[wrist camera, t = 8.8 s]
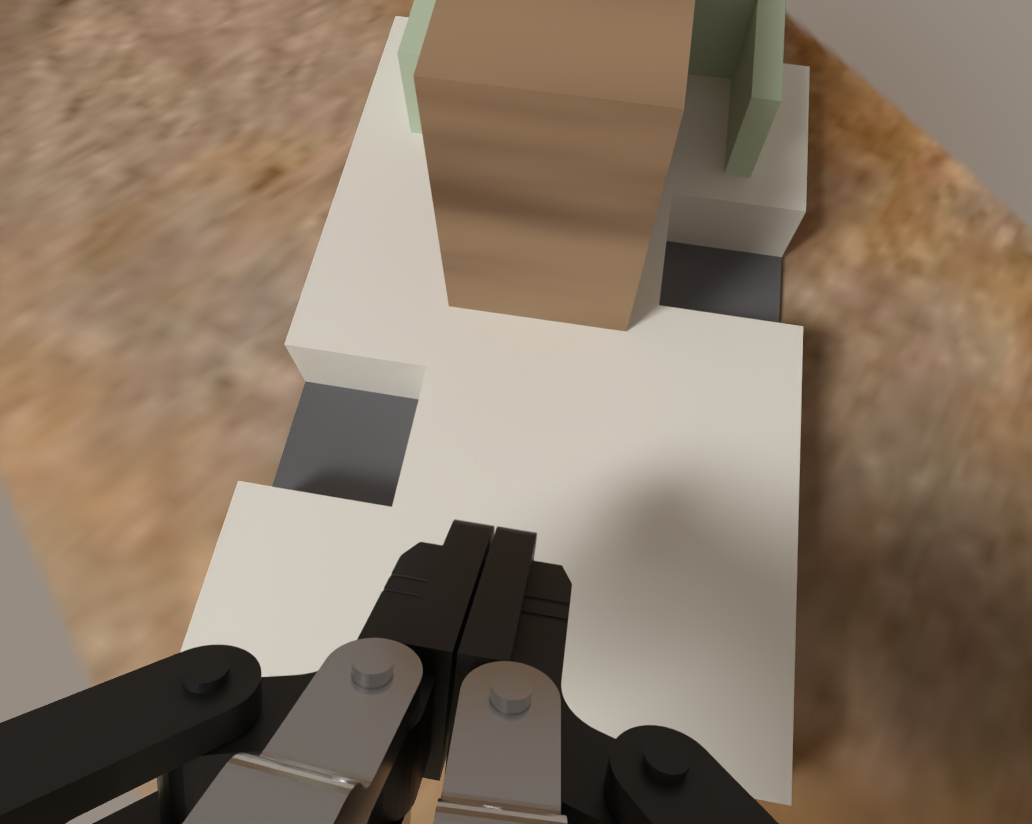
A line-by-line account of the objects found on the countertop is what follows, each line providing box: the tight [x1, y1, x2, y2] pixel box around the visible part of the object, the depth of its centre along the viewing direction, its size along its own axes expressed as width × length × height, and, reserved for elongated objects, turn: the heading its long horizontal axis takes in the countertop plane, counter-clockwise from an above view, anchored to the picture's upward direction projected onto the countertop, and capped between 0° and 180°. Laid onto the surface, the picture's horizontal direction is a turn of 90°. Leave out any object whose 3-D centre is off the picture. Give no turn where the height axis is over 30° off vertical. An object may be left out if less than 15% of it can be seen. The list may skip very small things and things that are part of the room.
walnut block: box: [413, 0, 695, 331], centre depth 20 cm, size 10×5×8 cm, turn 171°
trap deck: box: [180, 0, 810, 806], centre depth 21 cm, size 22×14×6 cm, turn 170°
